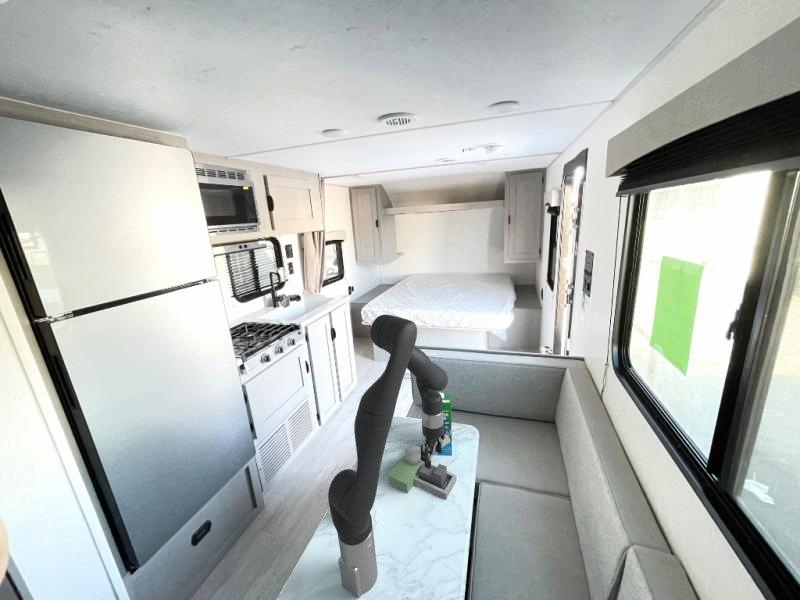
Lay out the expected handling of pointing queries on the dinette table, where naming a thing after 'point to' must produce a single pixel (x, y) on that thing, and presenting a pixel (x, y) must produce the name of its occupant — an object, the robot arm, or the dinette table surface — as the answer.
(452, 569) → the dinette table surface
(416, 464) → the multicoloured piece
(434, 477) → the grey stepped block
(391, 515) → the dinette table surface
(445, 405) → the milk carton
